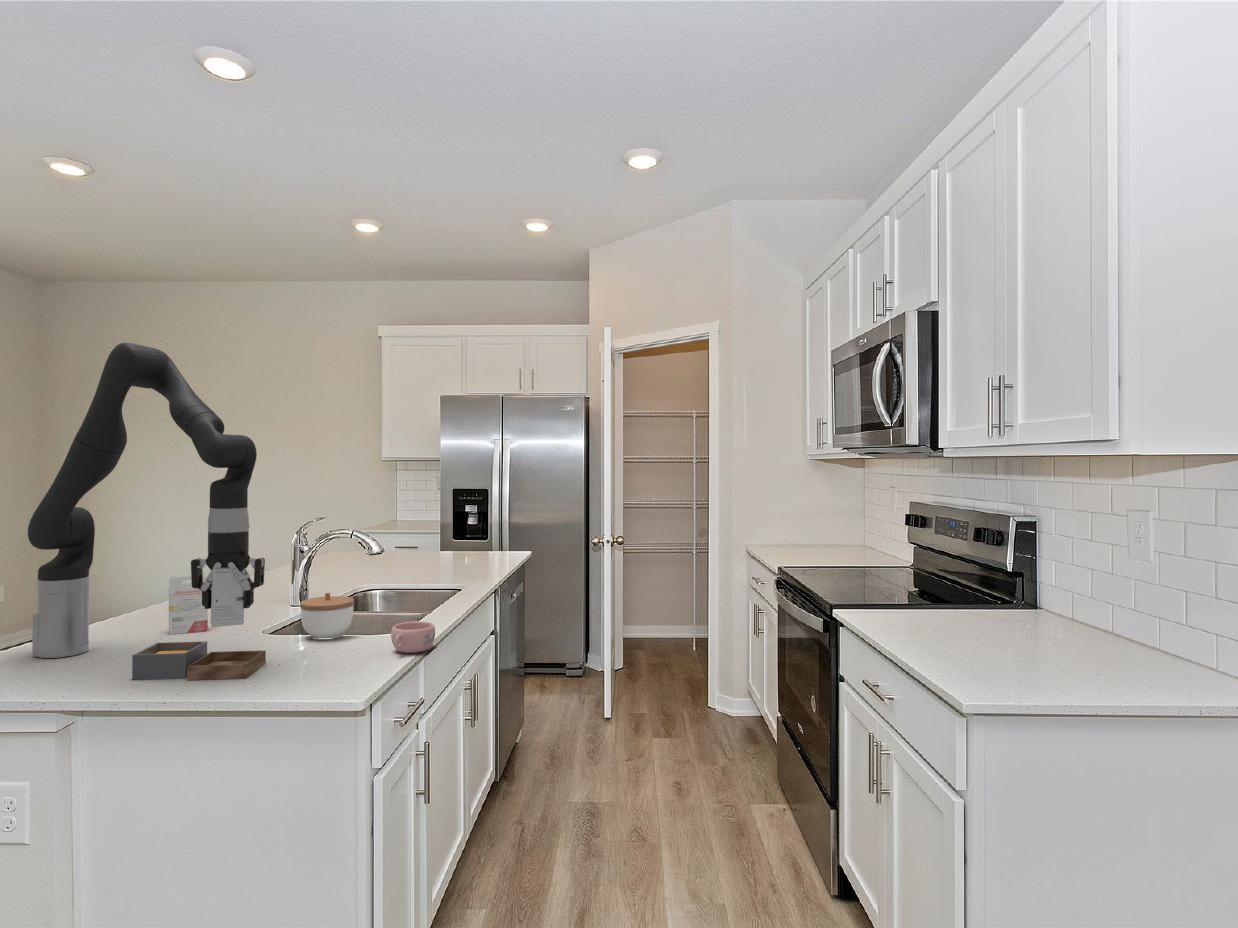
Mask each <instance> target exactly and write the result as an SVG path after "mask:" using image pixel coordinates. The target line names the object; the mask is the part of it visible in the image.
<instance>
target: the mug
mask: <svg viewBox="0 0 1238 928" xmlns="http://www.w3.org/2000/svg"><path fill="white" fill-rule="evenodd" d="M435 638H436V627H435V624H433V623H432V622H429V621H417V620H413V621H405V622H400V623H395V624H394V625H393V626H392V628H391V631H390V639H391V643H392V646H393V647H394V649H395V650H396V651H397V652H399V653H404V654H416V653H421V652H425V651H427V650H430V648H431V647H432V646H433V644H434V642H435Z"/></svg>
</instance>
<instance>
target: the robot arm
mask: <svg viewBox="0 0 1238 928" xmlns="http://www.w3.org/2000/svg"><path fill="white" fill-rule="evenodd" d="M131 387H136V388H137V387H138V388H141V389H142V388H143V389H152V390H154V391H156V392H157V393H158V394H160V395H161V396H162V397H164V398H165V399H166V400H167V401H168V410H169V413H170V417H171V418H172V420H173V421H174V423H175V424H176V426H178V427H179V429H181V430H182V431H183V432H184V433H185V434H186V435H187V436H188V437H189V438H190V439H191V441H192V444H193V447H194V448H195V450H196V453H198V456H199V458H200V459H201V461H202V462H204V463H205V464H206V465H208V466H210V467H212V468H215V469H216V468H217V469H226V472H225V475H224V476H223V478H220V479H217V480H214V481H212V482H211V483H210V486H209V509H208V510H209V512H208V516H207V517H208V520H207V557H206V558H201V557H197V558H195V559H192V560H191V561H190V573H191V575H190V576H191V580H190V582H191V583H192V587H193V588H197V589H200V590H201V591H202V605H203V606H205V609H208V610H211V587H212V580H213V568H222V567H228V568H230V570H231V571H232V572H233V573H234V575H235V576H236V578H237V580H238V581H239V582H240V583H241V584H242V585H243V587H244V588H245V591H244V600H243V607H244V609H249V608H251V606H252V605H253V604H254V601H255V600H254V598H255V597H254V596H255V594H254V593H255V589H256V588H259V587H260V586H263V585H264V583H265V567H266V565H265V564H266V563H265V562H266V559H265V558H264V557H259V558H254V557H253V558H251V557H250V555H249V551H250V549H249V547H250V546H249V545H250V543H249V539H250V538H249V535H250V534H249V533H250V532H249V531H250V519H249V518H250V516H249V510H248V505H249V504H248V499H249V498H248V497H249V496H248V490H249V485H250V482H251V479H252V477H253V476H252V475H253V472H254V469H255V465H256V461H257V455H258V454H257V447H256V445H255V443H254V441H253V440H252V439H251V438H250V437H249V436H247V435H243V434H242V435H241V434H225V424H224V422H223V420H222V419H221V418H220V417H219V416H218V415H217V414H216V413H215V412H214V410H212V409H211V408H210V407H209V406H208V405H207V404H206V403H205V402H204V401H203V400H202V399H201V398H200V397H199V396H198V395H197V394H196V392H195V391H194V390H193V388H192V387H191V386H190V384H189V383H188V382H187V380H186V378H185V377H184V376H183V375H182V373H181V372H180V370H179V369H178V366H176V364H175V363H174V361H173V360H172V359H171V358H170V356H168V354H167V353H166V352H164V351H162V350H161V349H159V348H154V347H150V346H145V345H141V344H136V343H133V342H132V343H131V342H120V343H118V344H117V345H116V346H114V347H113V348H112V350H111V351H110V353H109V355H108V356H107V359H106V361H105V364H104V367H103V368H102V372H101V376H100V378H99V381H98V384H97V387H96V391H95V393H94V396H93V399H92V401H91V403H90V405H89V408H88V410H87V412H86V415H85V416H84V419H83V421H82V423H81V425H80V427H79V429H78V431H77V433H76V434H75V437H73V440H72V443H71V445H70V447H69V449H68V451H67V454H66V456H65V458H64V460H63V463H62V465H61V467H60V469H59V470H58V473H57V475H56V476H55V479H54V480H53V482H52V484H51V485H50V487H49V489H48V490H47V492H46V493H45V495H44V496H43V498H42V500H41V501H40V502H39V505H38V506H37V507H36V509H35V511H34V512H33V514H32V516H31V518H30V520H29V523H28V527H27V537H28V541H29V543H30V544H31V546H32V547H34V548H36V549H38V550H43V551H44V550H45V551H49V550H50V551H51V550H58V552H57V555H55V557H54V558H52V559H51V560H50V561H48V562H46V563H44V564H42V565H41V566H40V567H39V568H38V571H37V612H36V613H34V614H33V615H32V635H31V636H32V638H31V640H32V644H31V645H32V647H31V648H32V650H31V651H32V654H31V655H32V658H41V659H54V658H55V659H56V658H57V659H58V658H65V657H72V656H77V655H81V654H83V653H86V652H88V651H89V641H90V640H89V634H90V633H89V630H90V629H89V626H90V624H89V623H90V622H89V619H90V618H89V616H90V615H89V614H90V610H89V608H90V607H89V605H90V589H89V588H90V568H91V566H92V564H93V561H94V548H95V535H96V527H95V520H94V518H93V516H92V514H91V512H90V511H89V510H88V509H86V508H84V507H80V506H76V505H77V504H78V503H79V501H81V499H82V498H83V497H84V496H85V495H86V494H87V493H88V492H89V491H90V490H92V489H93V488H94V487H96V486H97V485H98V484H99V483H101V482H102V481H103V480H104V479H106V478H107V477H108V476H109V475H110V474H111V473H112V472H113V471H114V470H115V468H116V467H117V465H118V464H119V461H120V458H121V456H122V455H123V453H124V451H125V448H126V446H127V443H128V435H127V434H128V433H127V428H126V425H125V421H124V417H123V416H124V415H123V405H124V403H125V400H126V397H127V394H128V392H129V391H130V389H131ZM249 565H251V568H252V569H254V570H253V580H252V578H251V575H250V573H249V572H248V570H247V568H248V566H249ZM206 566H207V567H208V568H209V570H210V572H209V573H208V574H207V576H206V581H205V582H203V575H204V573H203V571H204V570H203V569H205V567H206ZM244 568H245V576H244V575H243V574H242V573H241V571H243V570H244Z"/></svg>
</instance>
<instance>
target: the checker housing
mask: <svg viewBox="0 0 1238 928" xmlns="http://www.w3.org/2000/svg"><path fill="white" fill-rule="evenodd" d="M180 650H189V651H187V652H185V653H167V654H155V653H157V652H159V651H180ZM207 654H208V640H207V641H173V642H171V641H170V642H169V641H168V642H165V641H164V642H156V643H154V644H152V645H150V646H148V647H145V648H144V649H142V650H140V651H138V652H136V653H134V654H132V655H131V656H132V657H131V658H132V660H131V662H132V663H131V664H132V665H131V667H132V670H131V671H132V672H131V675H132V677H131V680H132V681H141V680H142V681H143V680H169V679H170V680H171V679H187V666H188V665H190V664H192V663H193V662H195V661H197V660H198V659H200V658H202V657H203V656H205V655H207Z"/></svg>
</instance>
